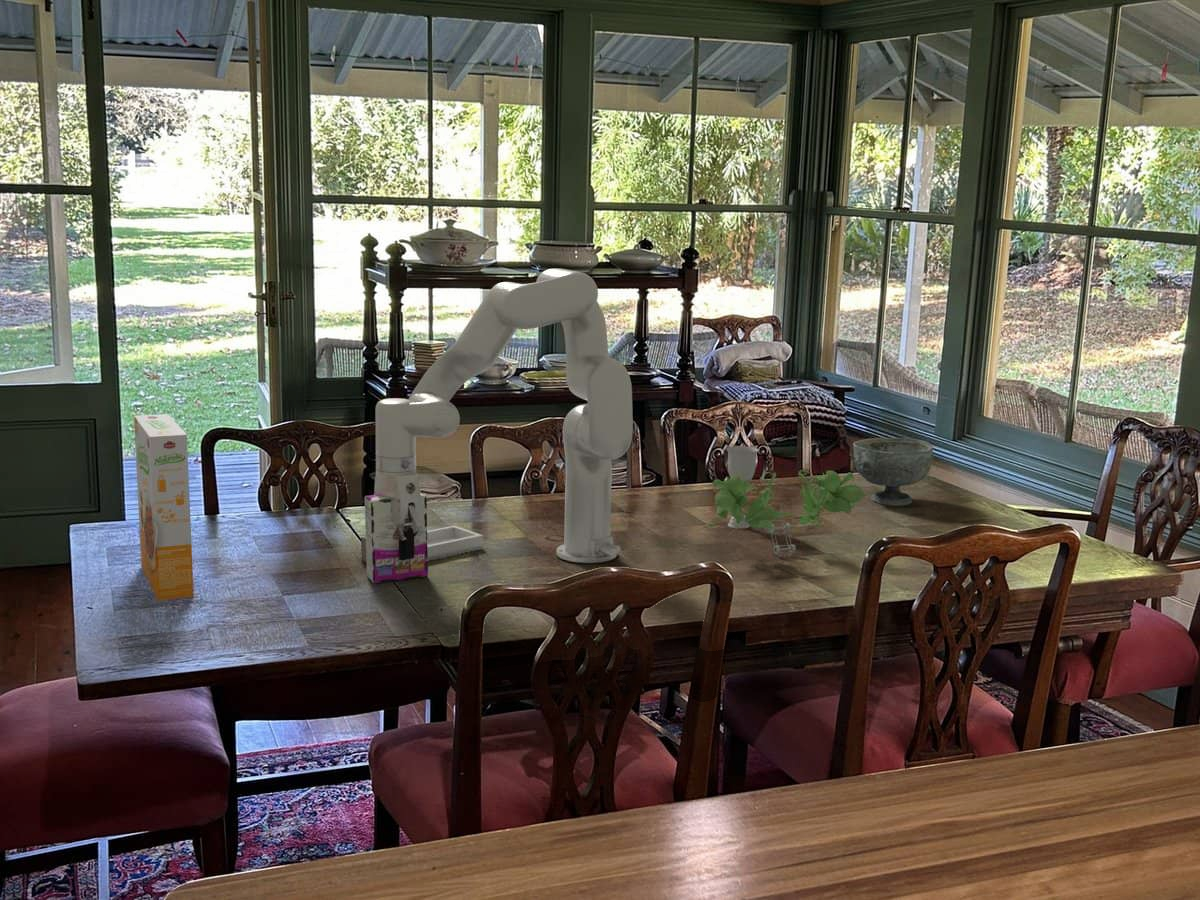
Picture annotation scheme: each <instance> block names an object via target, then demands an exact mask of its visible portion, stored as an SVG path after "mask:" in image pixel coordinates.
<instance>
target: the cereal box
mask: <svg viewBox="0 0 1200 900" xmlns="http://www.w3.org/2000/svg"><path fill="white" fill-rule="evenodd" d="M133 424H134V425H133V426H134V443H135V444H134V445H135V446H134V447H135V463H136V464H135V465H136V467H135V468H136V482H137V484H136V485H137V487H136V488H137V501H138V503H137V504H138V523H139V524H138V525H139V541H140V543H139V544H140V545H139V546H140V547H139V548H140V563H141V564H140V565H141V568H142V570H143V574H144V575H145V577H146V579H147V581H148V583H149V585H150V587H151V590H152V593H153V594H154V596H155V598H156V600H157V601H164V600H173V599H182V598H190V597H194V595H195V594H194V593H195V592H194V575H193V573H194V572H193V571H194V570H193V568H194V566H193V551H192V550H193V547H192V525H191V524H192V523H191V502H190V501H191V500H190V499H191V498H190V479H189V478H190V475H189V472H190V471H189V456H188V455H189V454H188V453H189V452H188V451H189V450H188V448H189V447H188V434H187V433H186V432H185V431H184V430H183V428H181V426H180V425H179V424H178V423H177V422H176V421H175V420H174V419H173V418H172V416H171V415H170V414H169V413H163V414H162V413H160V414H159V413H158V414H142V415H141V414H139V415H133Z"/></svg>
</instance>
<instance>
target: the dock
mask: <svg viewBox="0 0 1200 900" xmlns="http://www.w3.org/2000/svg"><path fill="white" fill-rule="evenodd" d="M427 549H428V552H427V553H428V562H429V561H430V560H431V561H434V560H439V558H440V559H445V558H448V557H447V556H449V557H453V556H452V555H454V556H458V555H462V554H461V553H463V554H466V553H465V552H467V553H472V552H476V551H479V550H483V549H484V535H483V534H480V533H478V532H475V531H471V530H468V529H466V528H463V527H461V526H457V525H450V526H446V527H445V526H444V527H440V528H436V529H435V528H434V529H431V530H427ZM471 551H472V552H471ZM457 554H458V555H457Z"/></svg>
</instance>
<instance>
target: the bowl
mask: <svg viewBox="0 0 1200 900" xmlns="http://www.w3.org/2000/svg"><path fill="white" fill-rule="evenodd" d="M852 444H853V459H854V460H853V462H854V464H855V465H854V466H855V468H856V470H857V473H858V474H859V475H861V477H862V478H863V479H865V480H866V481H867V482H868V483H871V484H873V485H875V486H885V488H884V490H879V491H875V492H874V493H872V495H871V497H870V499H871V500H872V501H873V502H875V503H877V504H881V505H885V506H892V507H893V506H894V507H895V506H898V507H900V506H908V505H911V504H912V503H913V499H912V497H911V495H910V494H907V493H906V492H903V491H901V490H900V487H903V486H910V485H911V486H912V485H914V484H917V483H919V482H921V481H923V480H924V479H925V478H926V477H927V476H928V474H929V473H930V471H931V469H932V468H931V467H932V463H933V457H934V452H933V448H934V447H933V444H932V443H929V441H926V440H922V439H915V438H906V437H904V438H903V437H887V438H886V437H885V438H884V437H877V438H867V439H861V440H857V441H855V442H853V443H852Z"/></svg>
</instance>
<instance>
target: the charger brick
mask: <svg viewBox="0 0 1200 900" xmlns="http://www.w3.org/2000/svg"><path fill="white" fill-rule="evenodd" d="M360 540H361V541H360V548H361V551H360V553H361V555H360V556H361V557H360V559H361V560H360V561H361V562H365V563H367V562H366V535H364V536H361V537H360Z"/></svg>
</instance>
